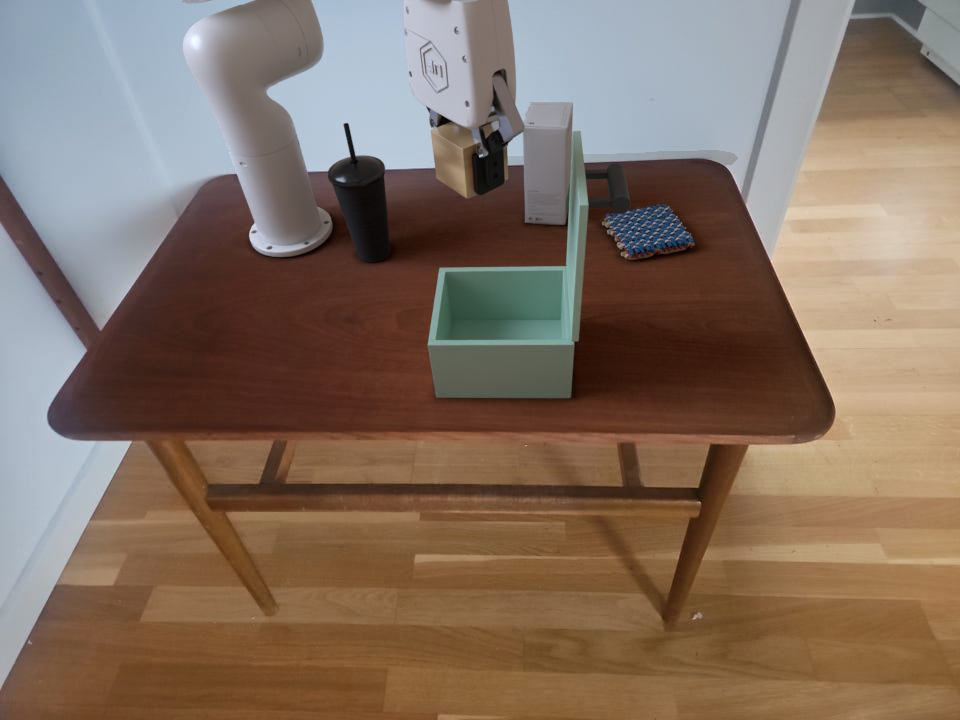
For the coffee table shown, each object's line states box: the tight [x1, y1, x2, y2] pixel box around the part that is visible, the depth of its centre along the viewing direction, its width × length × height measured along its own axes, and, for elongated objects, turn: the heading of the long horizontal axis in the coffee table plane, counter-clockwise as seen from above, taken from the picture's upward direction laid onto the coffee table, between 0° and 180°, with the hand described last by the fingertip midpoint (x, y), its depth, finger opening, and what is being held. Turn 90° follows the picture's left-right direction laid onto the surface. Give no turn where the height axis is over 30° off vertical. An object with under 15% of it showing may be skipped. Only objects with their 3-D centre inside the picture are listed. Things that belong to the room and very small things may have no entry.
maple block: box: [430, 121, 509, 200], centre depth 60 cm, size 5×5×5 cm
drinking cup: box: [327, 122, 391, 264], centre depth 88 cm, size 8×8×20 cm
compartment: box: [427, 265, 575, 399], centre depth 76 cm, size 16×13×9 cm
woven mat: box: [601, 203, 696, 261], centre depth 93 cm, size 10×11×2 cm
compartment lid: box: [565, 130, 632, 342], centre depth 66 cm, size 17×13×5 cm
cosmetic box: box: [522, 101, 574, 226], centre depth 95 cm, size 8×7×16 cm
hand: (471, 175), depth 62 cm, fingers closed on maple block, 5 cm apart
